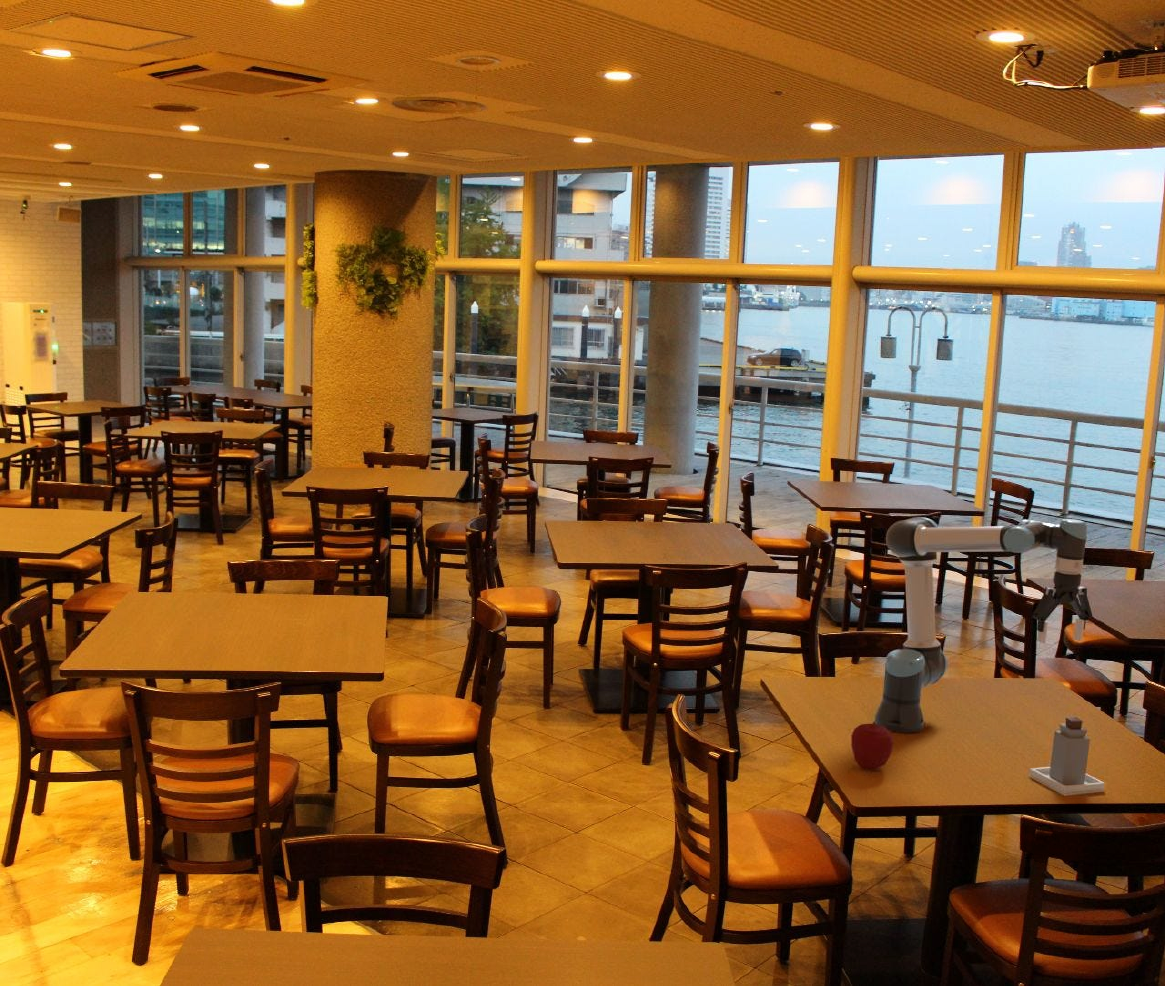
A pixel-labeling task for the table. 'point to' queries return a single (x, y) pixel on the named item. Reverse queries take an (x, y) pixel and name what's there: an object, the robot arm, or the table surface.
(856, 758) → the apple
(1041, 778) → the tray
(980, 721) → the table surface
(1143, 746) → the table surface
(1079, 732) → the perfume bottle
